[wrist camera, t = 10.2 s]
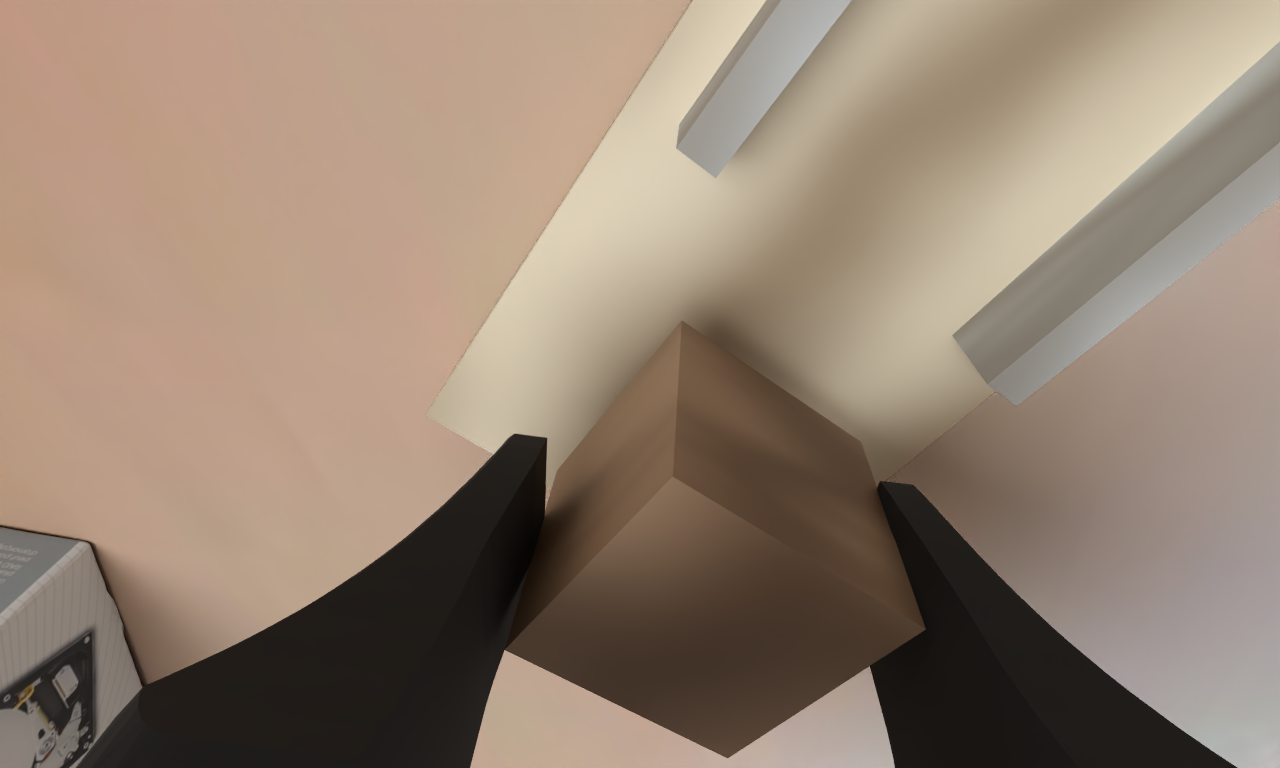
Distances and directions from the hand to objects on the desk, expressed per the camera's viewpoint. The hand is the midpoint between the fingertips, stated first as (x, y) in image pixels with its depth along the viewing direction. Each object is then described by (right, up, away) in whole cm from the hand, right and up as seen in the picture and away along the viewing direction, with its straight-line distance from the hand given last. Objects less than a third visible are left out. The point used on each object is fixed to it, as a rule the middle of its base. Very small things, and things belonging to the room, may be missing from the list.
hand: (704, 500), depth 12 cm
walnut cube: (0, +1, +1) cm, 1 cm away
